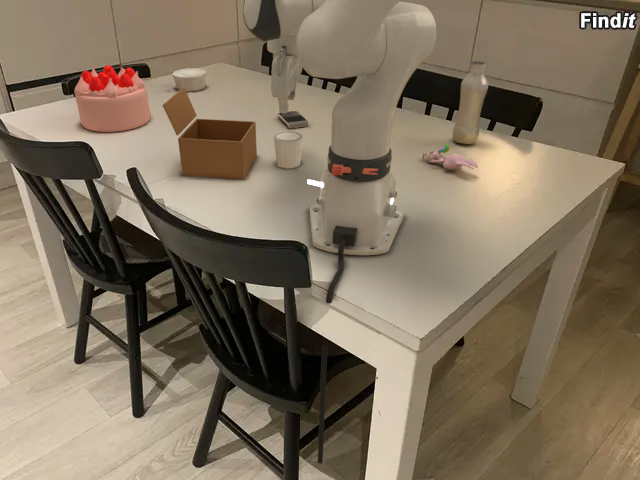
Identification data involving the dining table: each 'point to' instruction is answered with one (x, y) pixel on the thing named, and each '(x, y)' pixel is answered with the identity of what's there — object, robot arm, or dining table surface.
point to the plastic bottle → (471, 104)
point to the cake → (112, 100)
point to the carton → (218, 148)
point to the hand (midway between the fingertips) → (287, 105)
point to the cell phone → (293, 119)
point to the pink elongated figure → (449, 159)
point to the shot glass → (288, 149)
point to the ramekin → (190, 79)
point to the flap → (179, 111)
